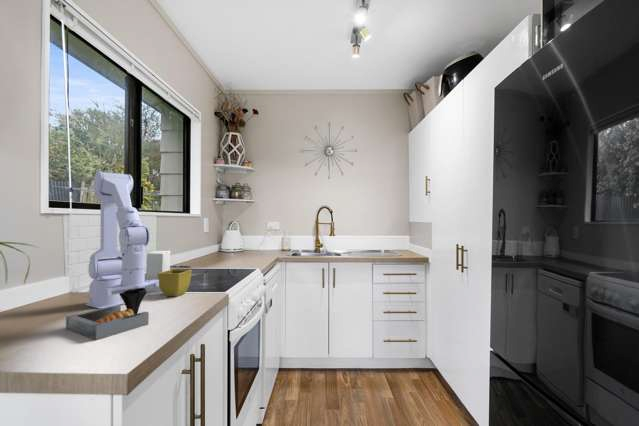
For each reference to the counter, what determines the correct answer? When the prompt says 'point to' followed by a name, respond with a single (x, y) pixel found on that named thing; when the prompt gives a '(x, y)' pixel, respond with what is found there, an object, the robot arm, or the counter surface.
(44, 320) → the counter surface
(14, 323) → the counter surface
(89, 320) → the grey tray
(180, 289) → the flower pot
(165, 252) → the skincare box
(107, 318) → the pastry
